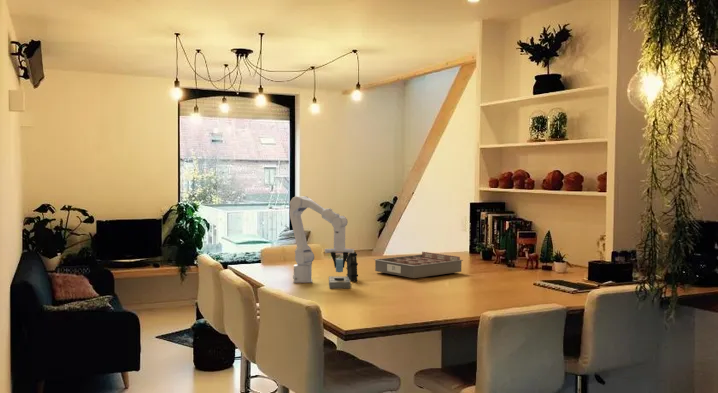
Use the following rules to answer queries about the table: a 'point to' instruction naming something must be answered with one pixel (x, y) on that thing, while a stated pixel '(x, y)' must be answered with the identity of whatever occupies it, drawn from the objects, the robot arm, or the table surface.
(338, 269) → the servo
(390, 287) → the table surface
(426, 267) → the organizer tray
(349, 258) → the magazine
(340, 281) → the chassis
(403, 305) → the table surface
